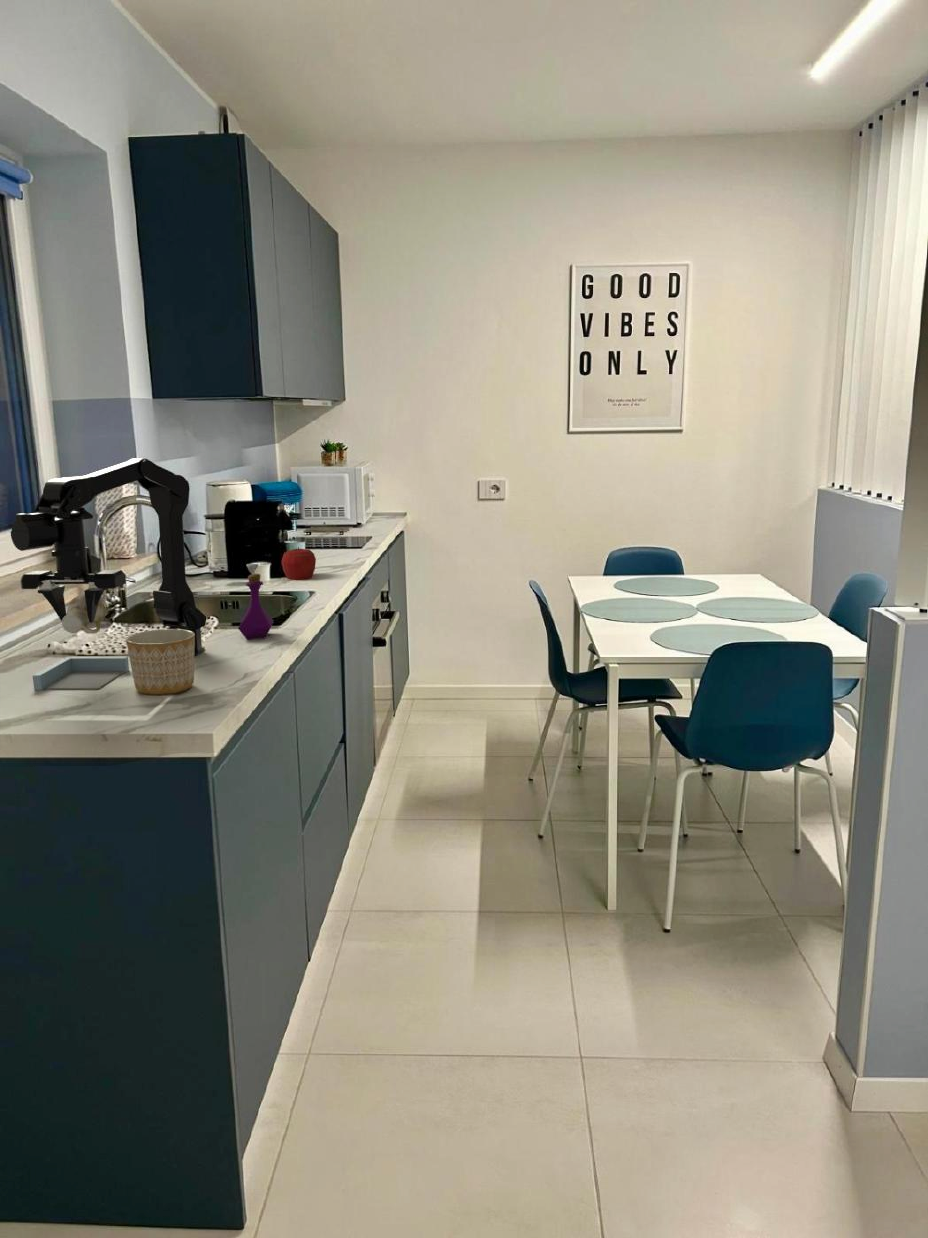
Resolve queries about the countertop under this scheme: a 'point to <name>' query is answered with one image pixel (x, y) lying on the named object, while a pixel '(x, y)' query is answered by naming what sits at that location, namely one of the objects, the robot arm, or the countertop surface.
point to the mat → (85, 680)
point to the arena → (77, 668)
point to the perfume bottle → (255, 610)
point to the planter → (162, 660)
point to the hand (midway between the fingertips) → (78, 622)
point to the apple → (298, 564)
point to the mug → (82, 616)
